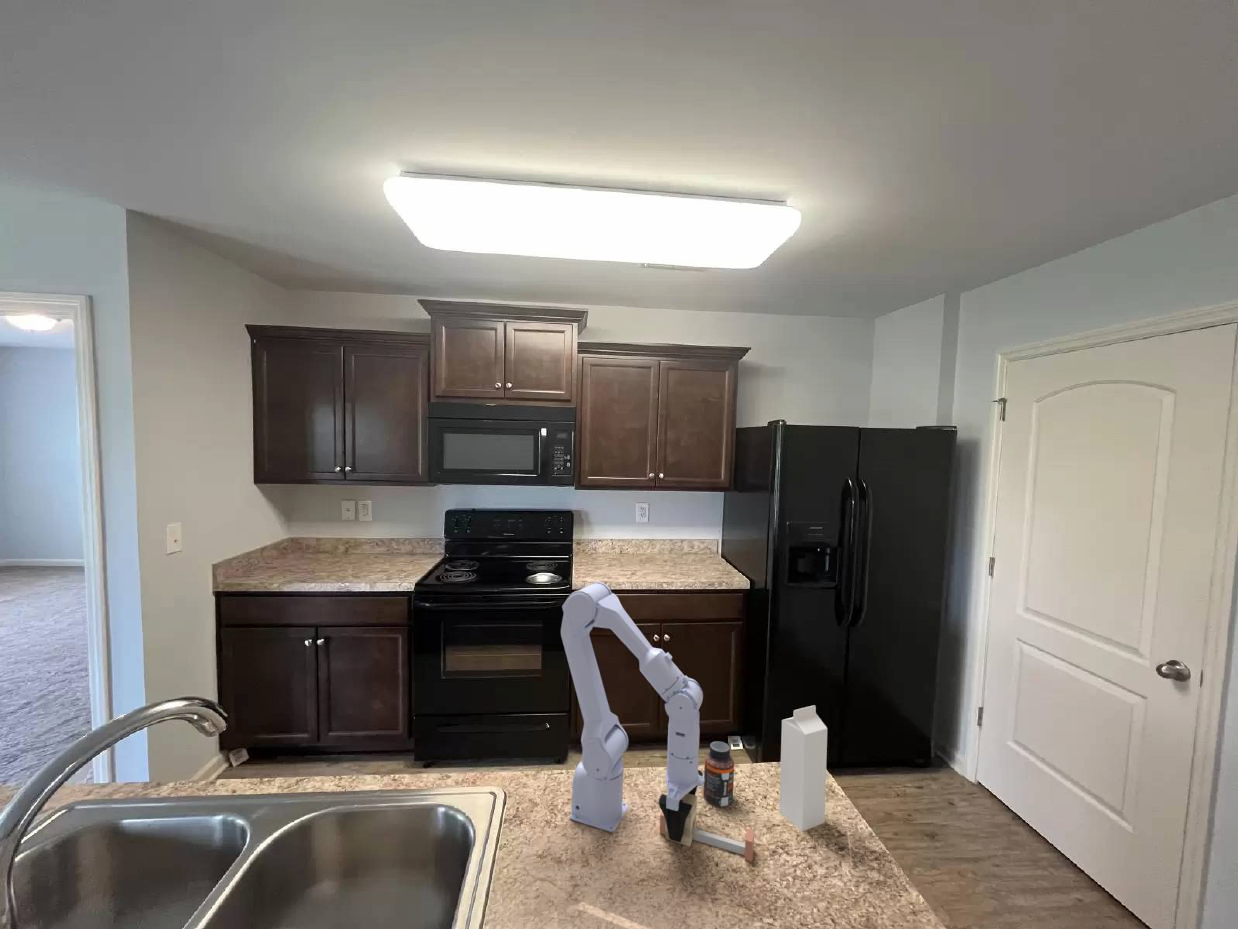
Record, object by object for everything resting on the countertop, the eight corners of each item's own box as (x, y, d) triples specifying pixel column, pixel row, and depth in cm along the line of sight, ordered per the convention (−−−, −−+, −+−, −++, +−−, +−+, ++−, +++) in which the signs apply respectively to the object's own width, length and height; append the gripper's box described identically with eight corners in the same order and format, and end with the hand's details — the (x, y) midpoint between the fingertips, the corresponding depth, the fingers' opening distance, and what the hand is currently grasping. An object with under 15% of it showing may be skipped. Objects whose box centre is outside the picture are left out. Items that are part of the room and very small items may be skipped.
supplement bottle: (733, 814, 97) (735, 756, 97) (702, 809, 98) (704, 752, 98) (732, 795, 103) (734, 740, 103) (703, 790, 104) (705, 736, 104)
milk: (778, 816, 97) (781, 703, 97) (801, 807, 100) (803, 698, 100) (802, 837, 91) (805, 717, 92) (825, 827, 94) (828, 711, 95)
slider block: (665, 839, 89) (666, 805, 89) (672, 821, 93) (673, 789, 93) (690, 846, 87) (691, 812, 87) (695, 828, 91) (697, 795, 92)
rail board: (653, 849, 87) (653, 825, 87) (666, 816, 96) (667, 795, 96) (751, 881, 81) (752, 855, 81) (756, 843, 89) (757, 820, 90)
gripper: (696, 778, 82) (693, 860, 82) (712, 736, 96) (709, 806, 95) (655, 768, 85) (653, 847, 84) (676, 728, 98) (674, 796, 98)
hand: (680, 825), depth 90 cm, fingers open, 7 cm apart
